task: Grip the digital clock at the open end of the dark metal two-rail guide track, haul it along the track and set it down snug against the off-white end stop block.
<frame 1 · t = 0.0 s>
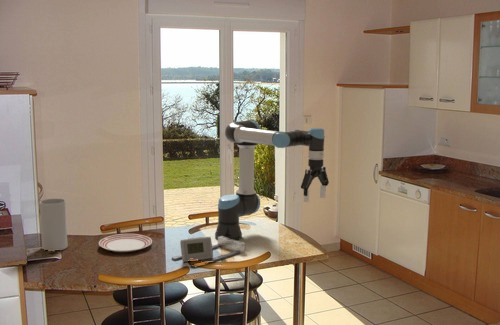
hand: (314, 199, 284), 28 cm above the table, tool pointing down, fingers open, 13 cm apart
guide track: (208, 255, 282), on the table
digital clock: (196, 260, 276), resting in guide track
cylinder vase: (54, 248, 290), on the table
dinner plate: (125, 247, 294), on the table
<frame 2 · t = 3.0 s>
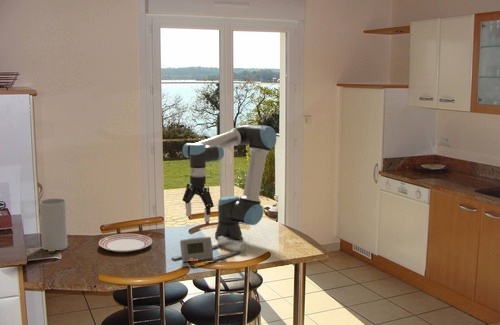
hand: (197, 218, 273), 21 cm above the table, tool pointing down, fingers open, 13 cm apart
nothing on the table moved.
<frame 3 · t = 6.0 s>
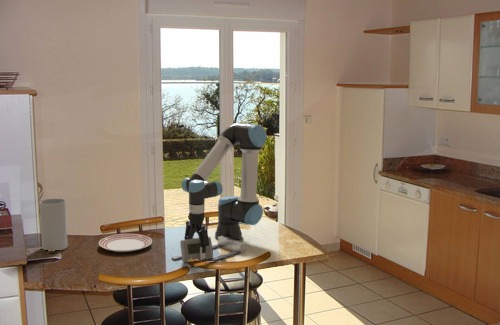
hand: (196, 256, 276), 1 cm above the table, tool pointing down, fingers closed on digital clock, 8 cm apart
digital clock: (196, 260, 275), resting in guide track, touching gripper
everything else where it was.
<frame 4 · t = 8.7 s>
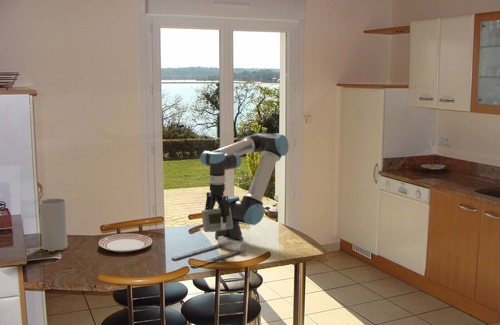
hand: (217, 226, 283), 14 cm above the table, tool pointing down, fingers closed on digital clock, 8 cm apart
digital clock: (217, 230, 283), point 12 cm above the table, touching gripper
everything else where it was.
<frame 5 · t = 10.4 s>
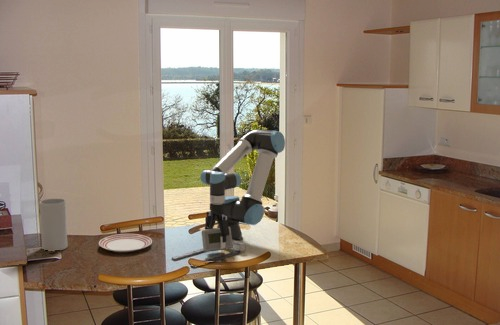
hand: (216, 246, 285), 4 cm above the table, tool pointing down, fingers closed on digital clock, 8 cm apart
digital clock: (217, 249, 284), point 2 cm above the table, touching gripper
everything else where it was.
when the fingers open (3 cm above the table, at t = 11.5 s): digital clock drops 1 cm, resting in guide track.
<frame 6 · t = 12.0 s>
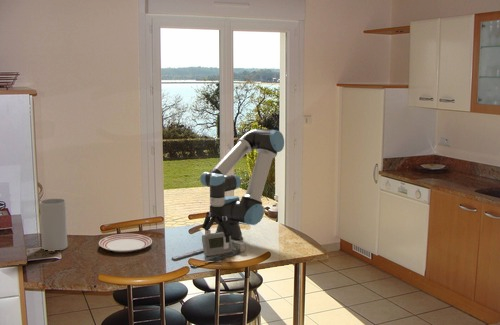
hand: (216, 245, 285), 4 cm above the table, tool pointing down, fingers open, 13 cm apart
digital clock: (217, 254, 285), resting in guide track
everything else where it was.
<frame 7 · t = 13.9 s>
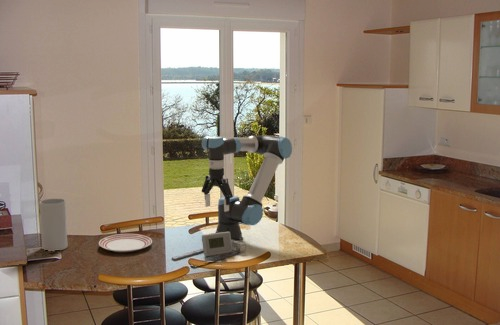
hand: (217, 208, 284), 23 cm above the table, tool pointing down, fingers open, 13 cm apart
nothing on the table moved.
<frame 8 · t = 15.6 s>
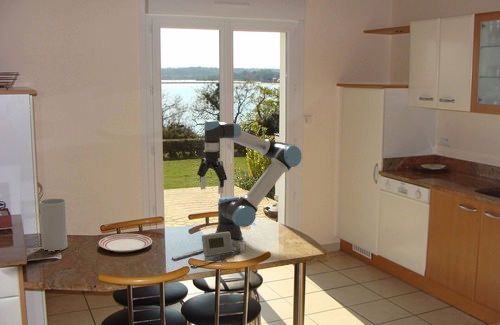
hand: (211, 191, 289), 31 cm above the table, tool pointing down, fingers open, 13 cm apart
nothing on the table moved.
at the end: digital clock 0.7 cm from the target spot, resting in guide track; digital clock tilted 0°; the gripper is holding nothing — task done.
